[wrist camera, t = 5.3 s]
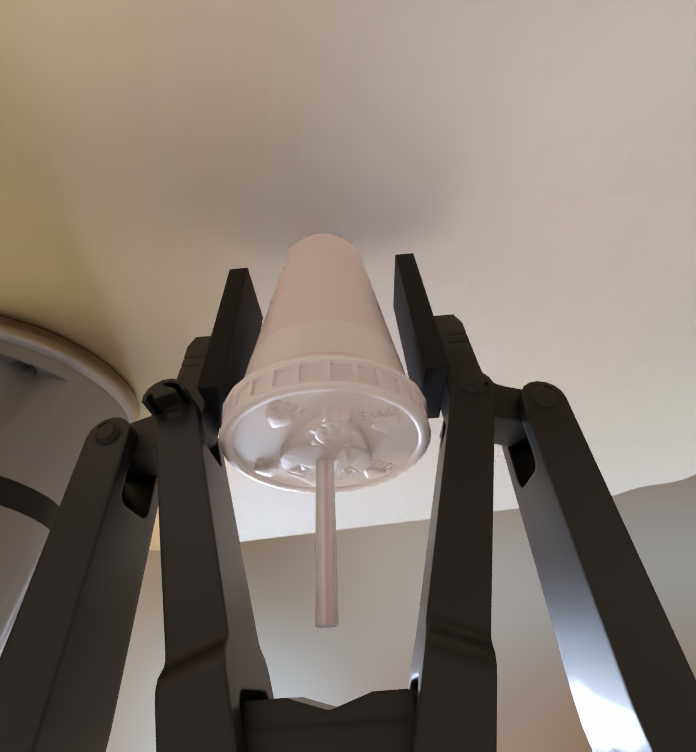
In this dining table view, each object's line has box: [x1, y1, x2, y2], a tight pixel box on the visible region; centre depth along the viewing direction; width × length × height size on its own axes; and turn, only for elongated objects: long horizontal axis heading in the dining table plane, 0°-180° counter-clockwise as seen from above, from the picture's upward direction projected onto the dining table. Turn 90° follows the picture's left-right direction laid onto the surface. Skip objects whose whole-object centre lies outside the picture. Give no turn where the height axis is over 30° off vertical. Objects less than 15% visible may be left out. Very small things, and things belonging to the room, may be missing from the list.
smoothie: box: [219, 234, 431, 628], centre depth 13 cm, size 6×6×14 cm
